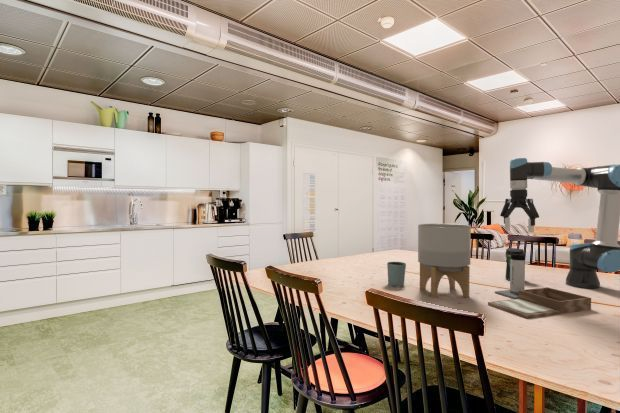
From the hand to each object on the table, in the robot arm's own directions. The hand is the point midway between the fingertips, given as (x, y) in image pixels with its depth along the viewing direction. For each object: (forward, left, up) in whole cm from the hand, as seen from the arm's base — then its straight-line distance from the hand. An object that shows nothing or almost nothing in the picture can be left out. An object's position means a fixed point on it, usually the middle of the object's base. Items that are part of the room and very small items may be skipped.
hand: (518, 231), depth 185 cm
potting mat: (+4, +3, -31) cm, 31 cm away
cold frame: (+13, +22, -31) cm, 40 cm away
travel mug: (+4, +3, -30) cm, 31 cm away
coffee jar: (-22, -22, -31) cm, 44 cm away
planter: (+36, -12, -31) cm, 49 cm away
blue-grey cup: (+49, -35, -31) cm, 68 cm away
